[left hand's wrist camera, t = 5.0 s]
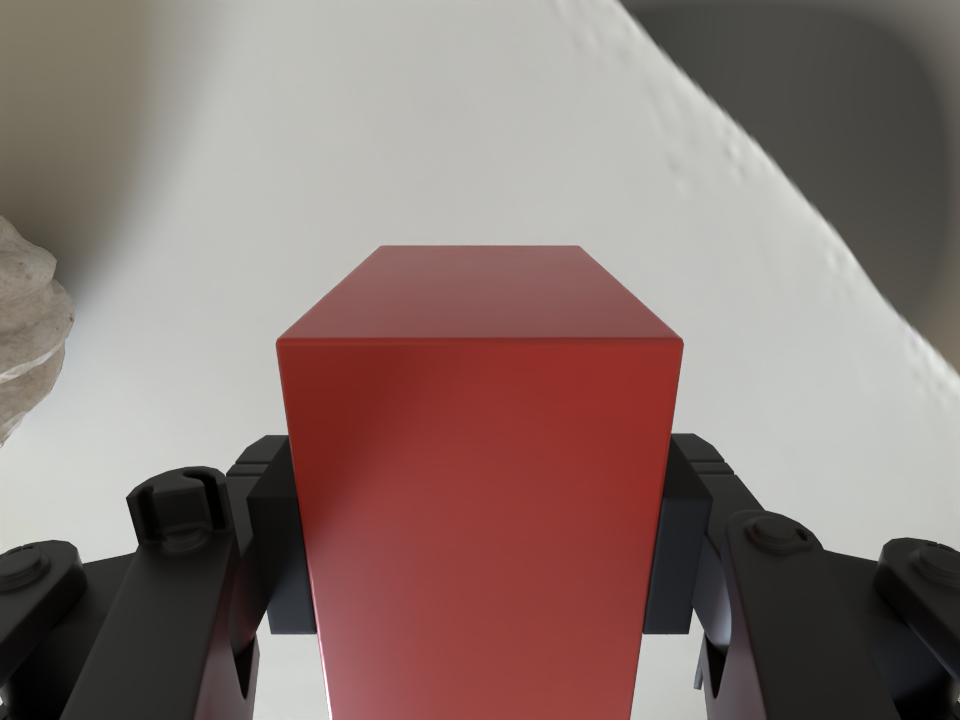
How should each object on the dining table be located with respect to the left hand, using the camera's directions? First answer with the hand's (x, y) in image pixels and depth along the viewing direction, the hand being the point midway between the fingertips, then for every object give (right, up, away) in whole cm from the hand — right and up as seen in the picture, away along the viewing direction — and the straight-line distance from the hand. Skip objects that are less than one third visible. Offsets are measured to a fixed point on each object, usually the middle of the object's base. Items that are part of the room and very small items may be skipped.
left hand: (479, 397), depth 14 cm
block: (0, +1, +1) cm, 2 cm away
